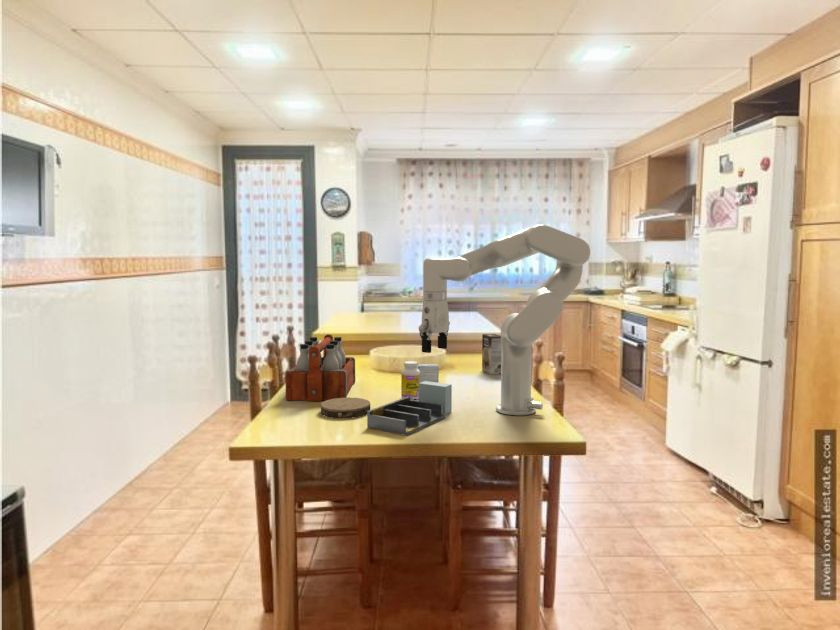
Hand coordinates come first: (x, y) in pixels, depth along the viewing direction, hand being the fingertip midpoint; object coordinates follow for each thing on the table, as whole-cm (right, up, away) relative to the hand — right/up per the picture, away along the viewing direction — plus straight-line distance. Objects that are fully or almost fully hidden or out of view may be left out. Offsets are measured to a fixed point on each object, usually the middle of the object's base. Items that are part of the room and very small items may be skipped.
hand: (434, 350), depth 186 cm
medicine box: (-2, -17, +36) cm, 40 cm away
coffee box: (+27, -14, +65) cm, 72 cm away
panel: (0, -20, +2) cm, 20 cm away
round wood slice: (-29, -20, +1) cm, 35 cm away
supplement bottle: (-8, -18, +19) cm, 27 cm away
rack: (-8, -21, -11) cm, 25 cm away
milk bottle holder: (-41, -17, +30) cm, 54 cm away
